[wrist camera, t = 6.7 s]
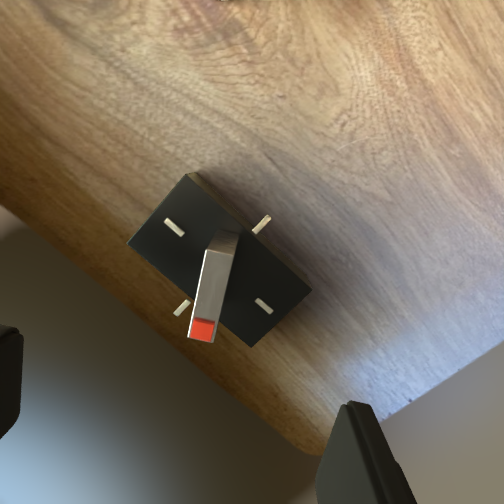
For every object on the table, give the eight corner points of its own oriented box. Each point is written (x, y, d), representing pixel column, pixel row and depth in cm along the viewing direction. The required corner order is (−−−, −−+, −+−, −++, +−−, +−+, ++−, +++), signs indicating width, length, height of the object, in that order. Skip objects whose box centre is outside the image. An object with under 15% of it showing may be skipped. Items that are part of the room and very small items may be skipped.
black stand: (322, 260, 25) (331, 274, 22) (238, 340, 27) (235, 364, 24) (209, 154, 23) (202, 153, 20) (128, 249, 25) (110, 261, 22)
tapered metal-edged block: (218, 228, 21) (205, 249, 16) (239, 233, 21) (233, 256, 16) (202, 299, 22) (186, 340, 17) (222, 304, 23) (212, 346, 18)
